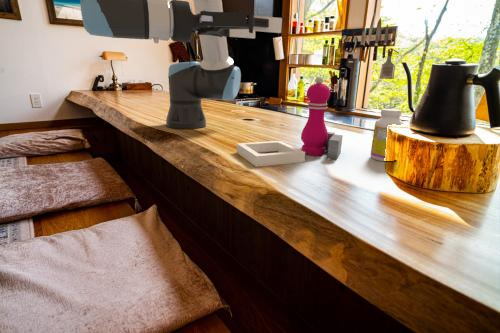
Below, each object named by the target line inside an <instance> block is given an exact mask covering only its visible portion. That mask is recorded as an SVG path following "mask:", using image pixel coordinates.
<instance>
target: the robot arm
mask: <svg viewBox="0 0 500 333" xmlns="http://www.w3.org/2000/svg"><path fill="white" fill-rule="evenodd" d="M79 2H80V3H79V4H80V12H81V13H80V14H81V19H82V24H83V28H84V30H85V31H86V32H87V33H88V34H89V35H90V36H98V37H107V38H112V39H128V40H129V39H130V40H131V39H132V40H133V39H134V40H150V41H151V40H152V39H153V42H154V44H159V42H160V41H169V40H170V39H171V41H172V42H177V43H179V42H180V43H189V42H190V41H191V40H192V36H193V34H196V35H198V36H199V40H200V41H199V42H200V46H201V54H202V61H185V62H183V61H182V62H176V63H172V64H170V65H169V67H168V76H167V78H168V89H169V92H168V94H169V108H168V111H167V112H168V113H167V116H166V120H165V122H166V124H165V125H166V127H168V128H172V129H180V130H181V129H185V130H188V129H189V130H190V129H192V130H193V129H200V128H201V129H202V128H204V127H206V126H207V119H206V116H205V113H204V110H203V107H202V100H214V101H215V100H219V101H232V100H234V99H235V98H236V97H237V95H238V93H239V91H240V86H241V79H242V78H241V77H242V73H241V69H240V67H239V66H237V65H235V64H234V59H233V58H232V57H231V56H230V55H229V50H228V49H229V48H228V41H227V37H230V38H244V39H256V32H262V33H263V32H264V33H274V34H275V33H276V34H281V33H282V26H283V25H282V24H283V18H282V17H273V16H266V15H255V12H252V11H250V12H246V11H245V12H241V11H240V12H235V11H234V12H233V11H231V12H230V11H224V9H223V1H222V0H192V2H193V7H194V13H195V14H194V13H193V8H192V5H191V3H190V2H189V1H186V0H170V1H169V0H79ZM159 40H160V41H159Z"/></svg>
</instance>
